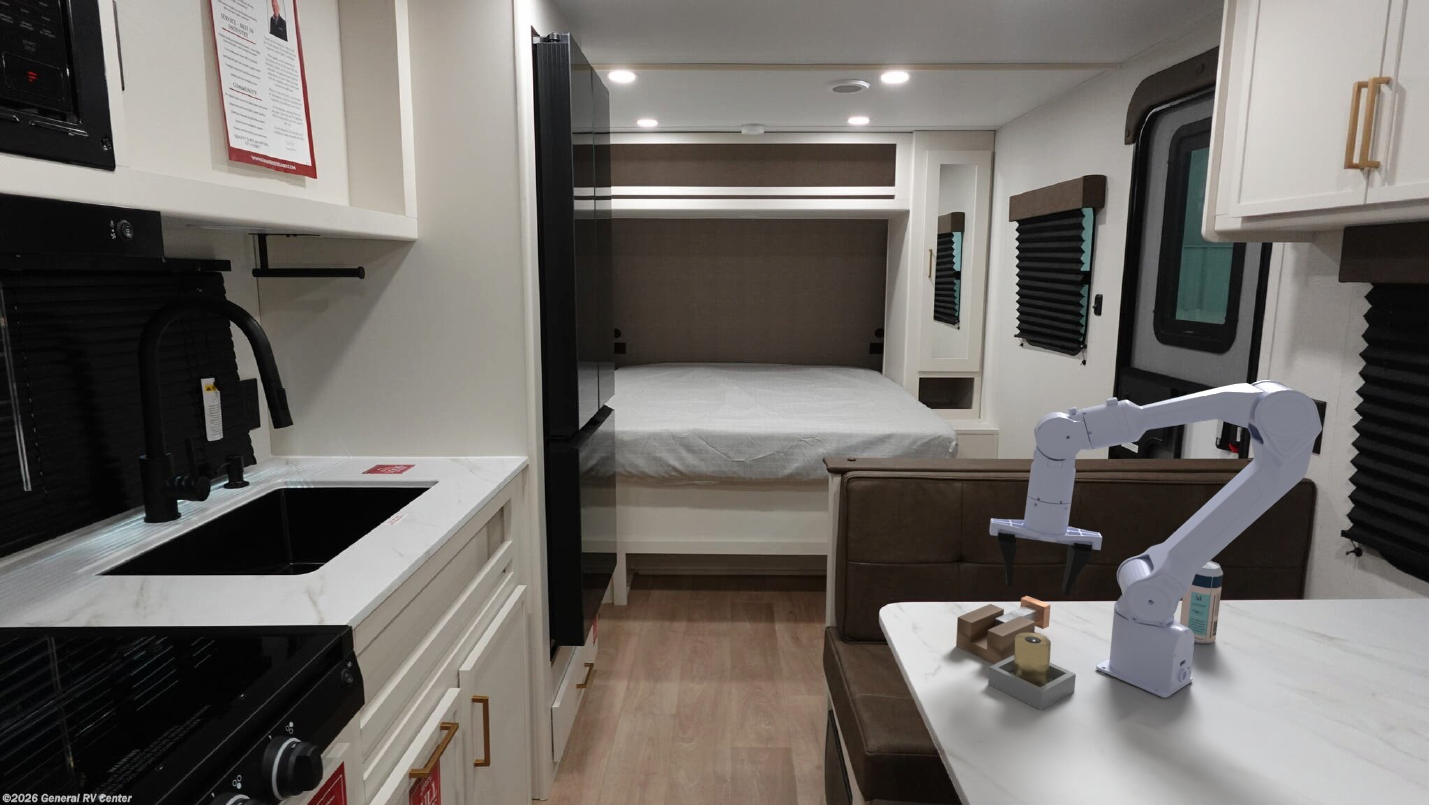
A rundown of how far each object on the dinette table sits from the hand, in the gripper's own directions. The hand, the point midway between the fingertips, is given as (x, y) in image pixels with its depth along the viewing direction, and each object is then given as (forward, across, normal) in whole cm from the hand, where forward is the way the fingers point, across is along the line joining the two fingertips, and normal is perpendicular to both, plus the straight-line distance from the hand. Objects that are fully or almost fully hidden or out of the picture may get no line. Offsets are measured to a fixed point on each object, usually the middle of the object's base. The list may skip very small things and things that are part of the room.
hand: (1036, 588), depth 110 cm
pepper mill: (+10, -1, -10) cm, 14 cm away
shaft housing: (+11, -5, +1) cm, 12 cm away
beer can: (+9, +25, +13) cm, 30 cm away
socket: (+10, 0, -10) cm, 14 cm away
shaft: (+9, -1, +5) cm, 11 cm away
